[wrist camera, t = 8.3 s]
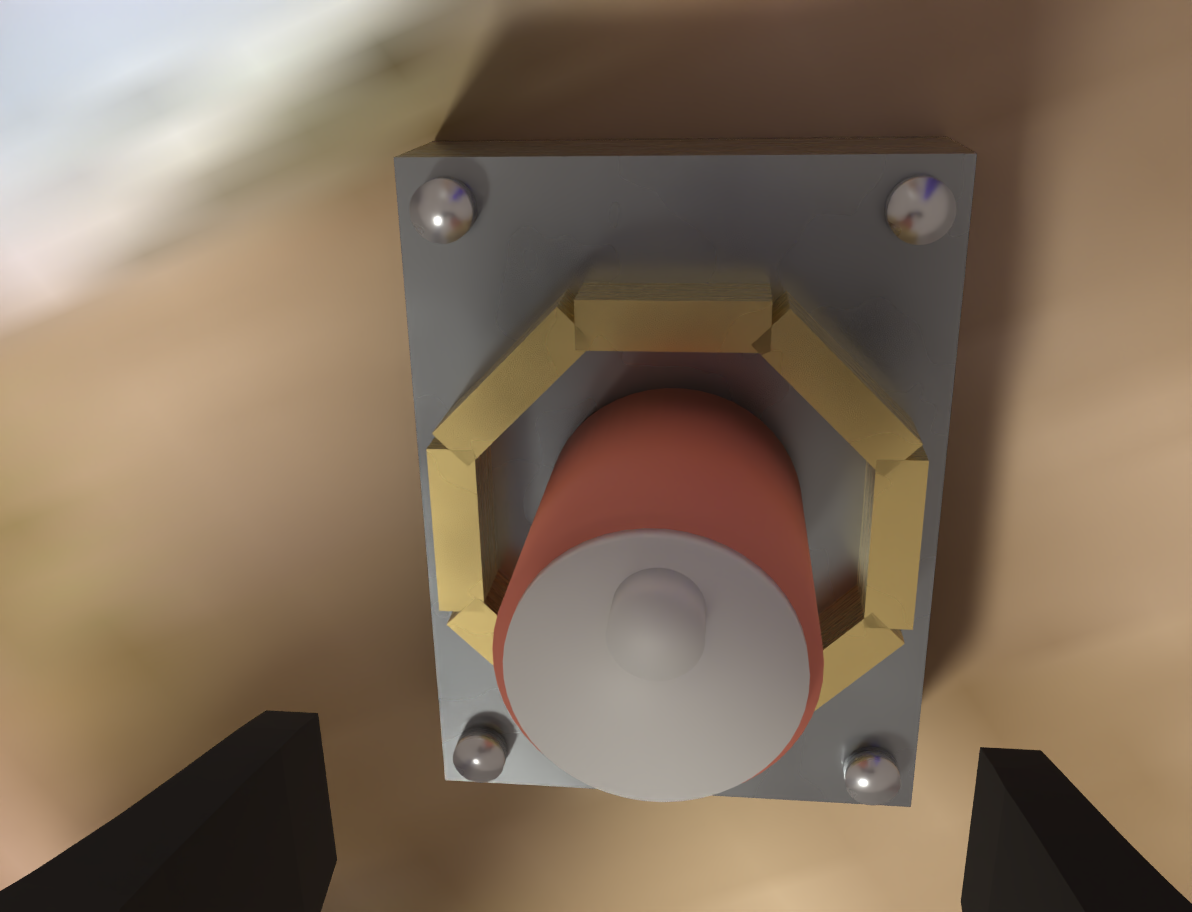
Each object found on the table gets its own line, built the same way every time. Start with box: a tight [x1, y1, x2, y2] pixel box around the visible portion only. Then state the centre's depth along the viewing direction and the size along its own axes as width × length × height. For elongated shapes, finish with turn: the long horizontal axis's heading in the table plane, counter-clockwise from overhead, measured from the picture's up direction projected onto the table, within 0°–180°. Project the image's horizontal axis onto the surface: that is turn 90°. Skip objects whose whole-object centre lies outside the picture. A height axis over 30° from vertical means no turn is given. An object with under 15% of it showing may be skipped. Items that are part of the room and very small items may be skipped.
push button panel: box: [394, 137, 977, 807], centre depth 20 cm, size 12×9×4 cm
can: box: [492, 388, 824, 802], centre depth 17 cm, size 4×4×6 cm
